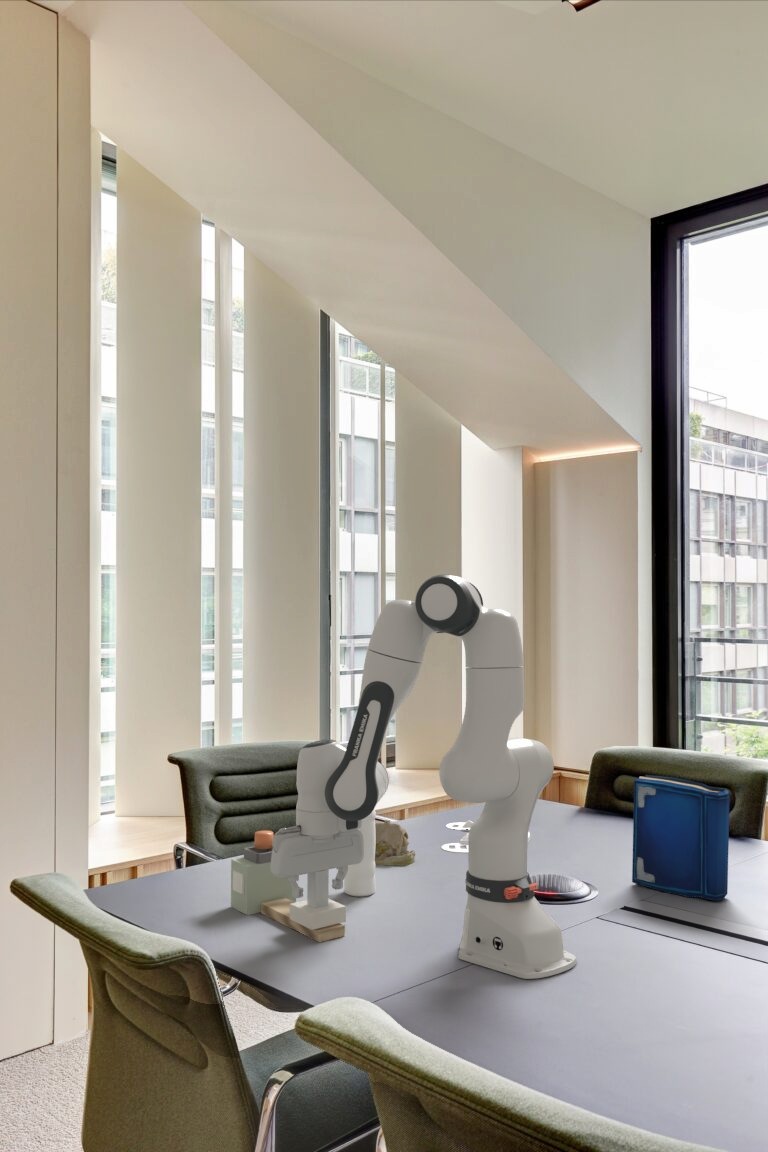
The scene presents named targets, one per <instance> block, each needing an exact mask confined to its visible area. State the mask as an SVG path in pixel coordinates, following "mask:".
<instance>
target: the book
mask: <svg viewBox="0 0 768 1152" xmlns="http://www.w3.org/2000/svg"><path fill="white" fill-rule="evenodd" d="M633 780H634V781H633V783H634V784H633V785H634V786H633V788H634V789H633V821H632V822H633V828H632V829H633V831H632V867H631V868H632V870H631V878H632V879H631V882H632V883H633V884H636V885H640V886H642V887H643V886H644V887H647V888H649V889H652V890H657V891H659V892H664V893H667V894H673V895H677V896H682V897H685V896H686V898H702V899H705V900H709V901H712V902H713V901H714V902H717V901H721V900H723V899H725V898H726V896H727V895H728V882H729V881H728V879H729V876H728V875H729V872H728V871H729V841H730V840H729V839H730V838H729V837H730V836H729V832H730V830H729V829H730V798H731V797H730V795H731V794H730V791H729V790H728V789H726V788H725V789H724V788H720V787H719V788H718V787H713V786H709V785H707V784H705V783H702V782H696V781H692V780H687V779H681V778H677V777H671V776H670V777H669V776H660V775H652V774H651V775H649V774H645V776H639V778H638V777H634V779H633Z"/></svg>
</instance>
